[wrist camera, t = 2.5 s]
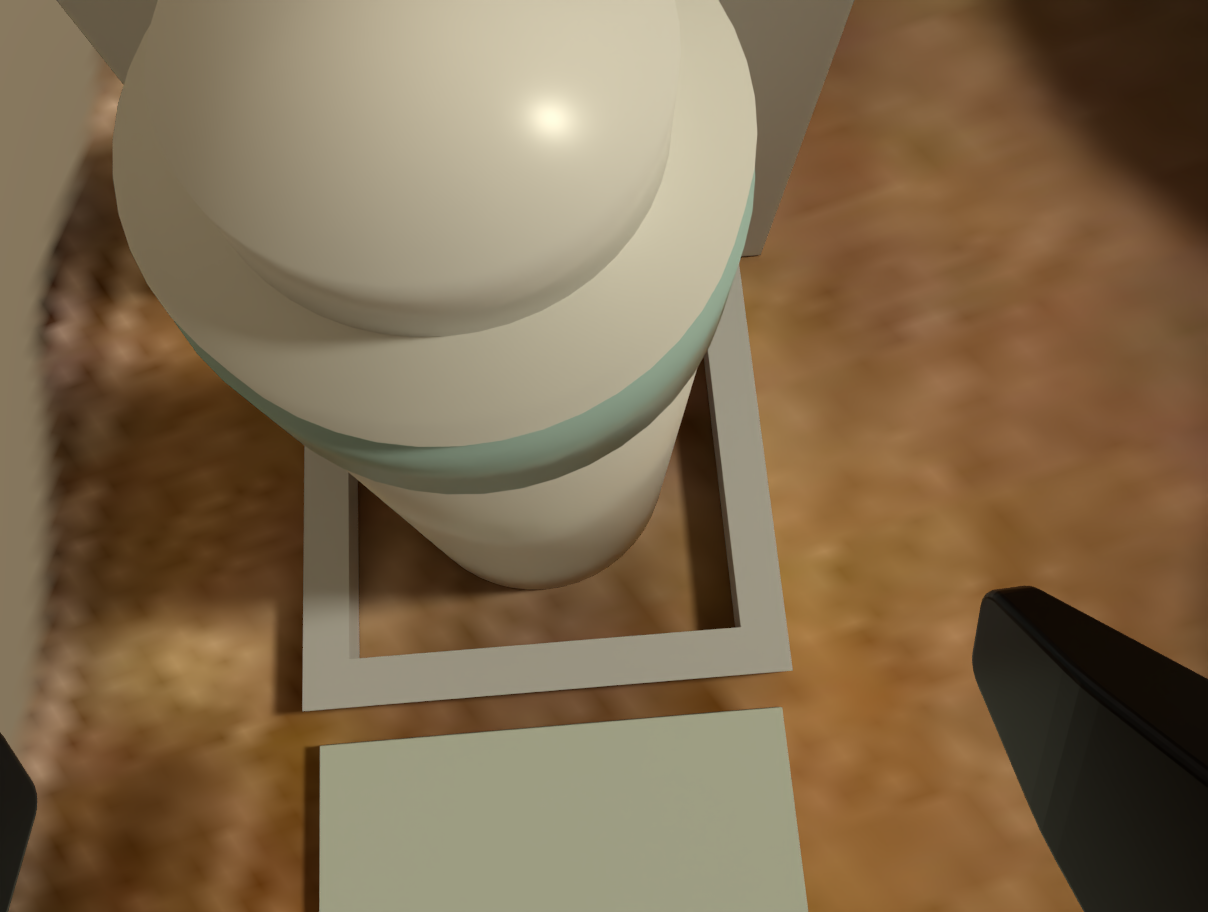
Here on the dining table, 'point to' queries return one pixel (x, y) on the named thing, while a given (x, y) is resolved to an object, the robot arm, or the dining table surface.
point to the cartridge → (451, 244)
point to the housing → (760, 638)
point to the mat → (566, 819)
